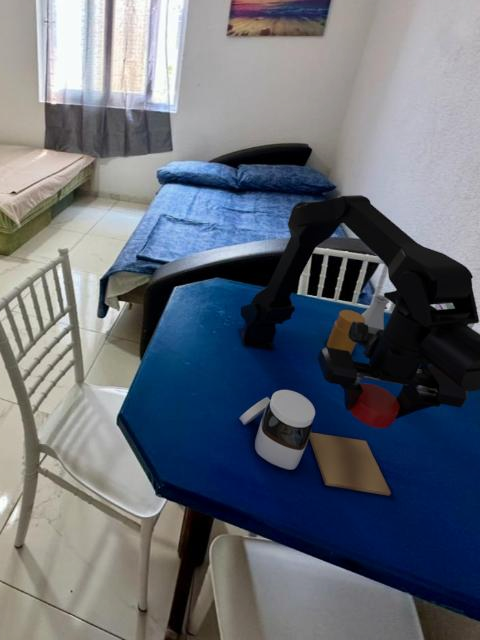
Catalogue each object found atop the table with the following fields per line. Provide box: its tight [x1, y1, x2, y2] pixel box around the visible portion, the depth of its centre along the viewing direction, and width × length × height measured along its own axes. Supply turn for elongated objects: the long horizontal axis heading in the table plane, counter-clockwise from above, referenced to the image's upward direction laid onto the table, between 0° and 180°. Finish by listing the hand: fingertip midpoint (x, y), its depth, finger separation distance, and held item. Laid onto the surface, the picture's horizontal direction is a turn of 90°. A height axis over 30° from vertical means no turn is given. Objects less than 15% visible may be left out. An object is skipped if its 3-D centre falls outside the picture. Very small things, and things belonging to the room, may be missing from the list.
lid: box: [349, 382, 400, 429], centre depth 66 cm, size 6×6×3 cm
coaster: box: [309, 432, 392, 497], centre depth 72 cm, size 10×10×1 cm
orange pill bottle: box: [326, 309, 365, 356], centre depth 97 cm, size 6×6×10 cm
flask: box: [361, 294, 390, 329], centre depth 103 cm, size 7×7×10 cm
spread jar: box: [238, 389, 316, 471], centre depth 72 cm, size 12×11×12 cm
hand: (369, 412), depth 67 cm, fingers closed on lid, 6 cm apart
